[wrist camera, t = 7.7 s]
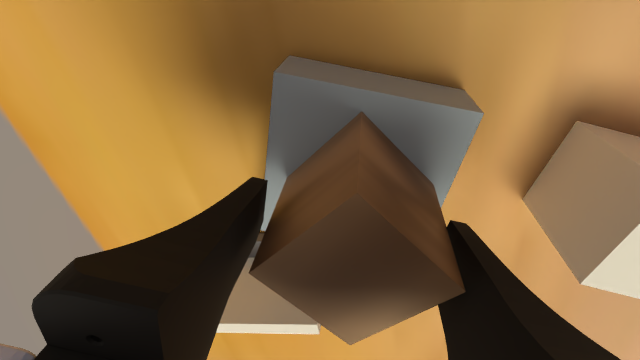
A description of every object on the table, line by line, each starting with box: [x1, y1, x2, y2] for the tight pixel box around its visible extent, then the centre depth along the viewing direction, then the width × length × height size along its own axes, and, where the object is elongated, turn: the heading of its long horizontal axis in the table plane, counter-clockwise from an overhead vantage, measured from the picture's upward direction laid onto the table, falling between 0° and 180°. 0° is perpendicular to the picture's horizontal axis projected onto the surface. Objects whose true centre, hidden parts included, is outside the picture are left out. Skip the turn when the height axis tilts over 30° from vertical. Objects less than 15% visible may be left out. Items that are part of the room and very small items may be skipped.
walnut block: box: [249, 111, 466, 345], centre depth 13 cm, size 5×5×6 cm
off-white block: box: [522, 121, 640, 299], centre depth 15 cm, size 5×5×6 cm
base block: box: [261, 55, 484, 231], centre depth 17 cm, size 8×8×4 cm
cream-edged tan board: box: [216, 233, 321, 334], centre depth 20 cm, size 7×4×6 cm, turn 99°
